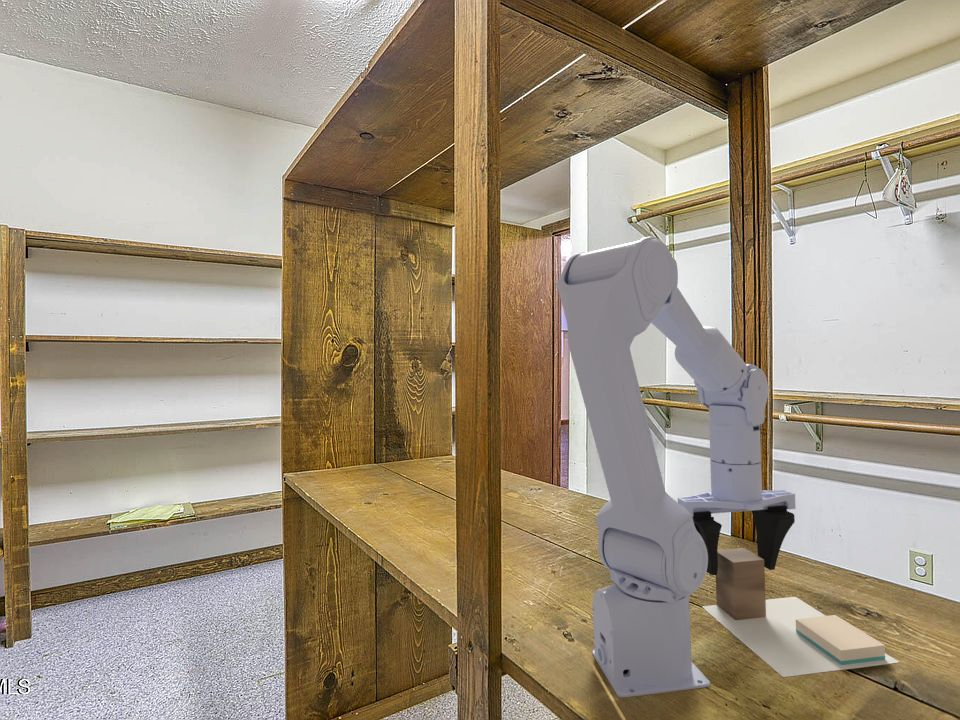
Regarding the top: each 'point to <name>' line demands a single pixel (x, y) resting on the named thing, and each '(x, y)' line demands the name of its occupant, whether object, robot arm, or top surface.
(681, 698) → the top surface
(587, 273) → the robot arm
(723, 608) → the walnut block
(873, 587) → the top surface
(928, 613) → the top surface
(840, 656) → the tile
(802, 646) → the mat
